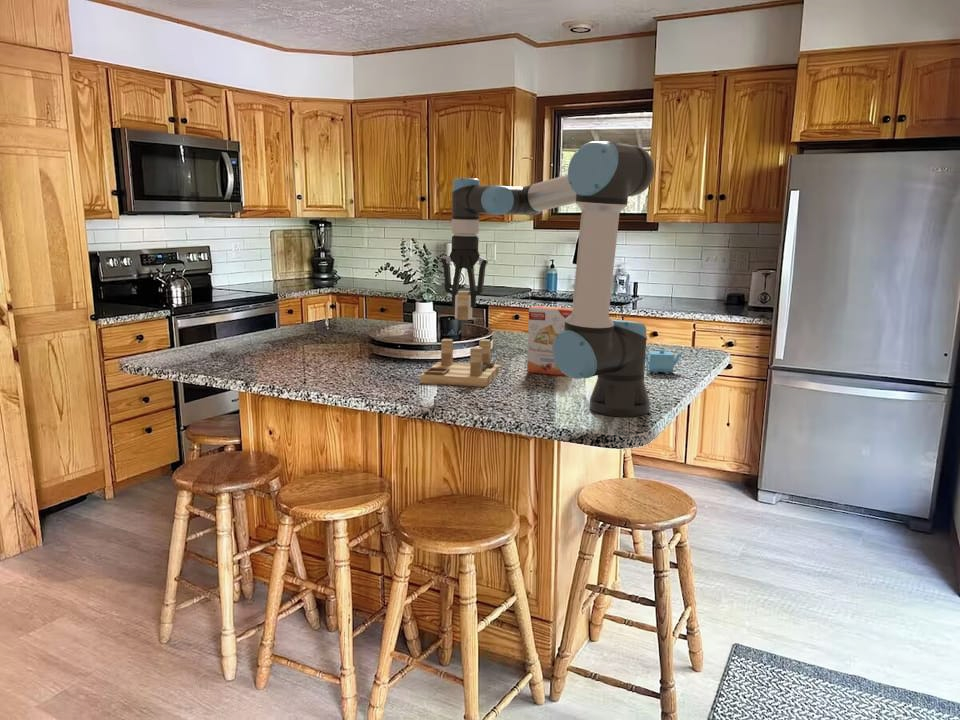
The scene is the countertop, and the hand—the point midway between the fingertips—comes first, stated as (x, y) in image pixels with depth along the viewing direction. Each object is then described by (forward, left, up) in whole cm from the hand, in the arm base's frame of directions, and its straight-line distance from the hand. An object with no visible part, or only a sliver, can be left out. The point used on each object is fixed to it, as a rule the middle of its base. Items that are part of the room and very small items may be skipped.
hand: (463, 318), depth 205 cm
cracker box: (+23, -23, -20) cm, 38 cm away
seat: (+10, +3, -20) cm, 22 cm away
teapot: (+32, -58, -20) cm, 69 cm away
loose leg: (0, 0, 0) cm, 0 cm away
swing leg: (+12, -3, -17) cm, 21 cm away
